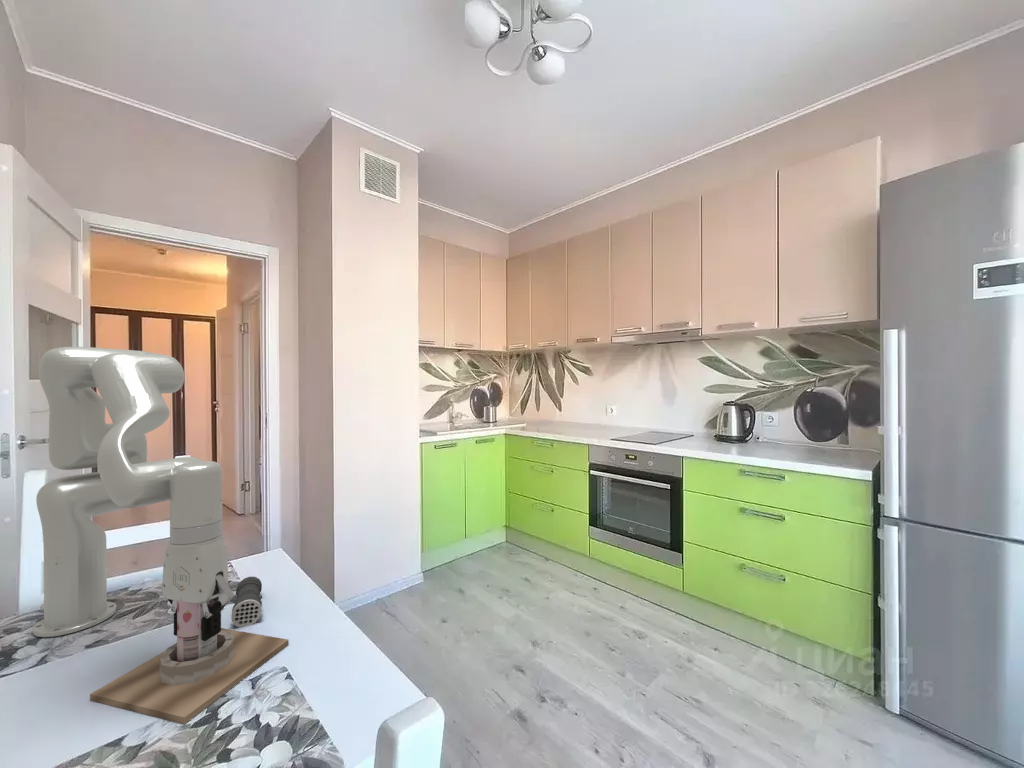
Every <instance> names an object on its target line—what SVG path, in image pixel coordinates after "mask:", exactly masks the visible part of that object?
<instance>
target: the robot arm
mask: <svg viewBox="0 0 1024 768" xmlns="http://www.w3.org/2000/svg"><path fill="white" fill-rule="evenodd" d="M38 376H39V381H40V384H41V385H40V386H41V388H42V390H43V392H44V394H45V398H46V399H47V400H46V401H47V404H48V409H49V414H48V457H49V458H48V459H49V463H50V464H51V466H53V467H54V468H55V469H57V470H62V471H72V470H73V471H74V470H76V471H77V470H82V469H83V470H84V469H92V468H97V472H95V471H94V472H86V473H81V474H74V475H68V476H63V477H59V478H56V479H54V480H53V479H52V480H51V481H49V482H47V483H45V484H44V485H42V486H41V488H39V490H38V491H37V493H36V508H37V511H38V515H39V520H40V523H41V529H42V531H41V532H42V540H43V542H42V544H43V547H42V548H43V603H41V604H40V606H39V609H40V610H41V611H43V619H41V620H40V621H38V622H37V623H35V624H34V626H33V628H32V634H33V635H34V636H35V637H39V638H53V637H60V636H64V635H70V634H73V633H76V632H80V631H83V630H86V629H88V628H91V627H93V626H95V625H98V624H100V623H102V622H104V621H105V620H107V619H109V618H111V617H112V616H113V615H114V614H115V613H116V611H117V604H116V603H115V602H112V601H108V597H107V595H108V594H107V593H108V592H107V591H108V590H107V589H108V586H107V585H108V581H107V580H108V578H107V575H108V574H107V572H108V571H107V567H108V566H107V563H108V561H107V559H108V558H107V556H108V554H107V551H108V550H107V535H106V532H105V530H104V529H103V527H101V526H100V525H98V524H97V523H95V522H94V521H93V520H92V518H93V517H95V516H99V515H103V514H107V513H114V512H117V511H122V510H126V509H127V510H128V509H135V508H140V507H146V506H149V505H150V506H151V505H154V504H158V503H164V502H168V501H169V541H168V542H167V545H166V549H165V552H164V559H163V567H162V579H161V580H162V583H161V584H162V585H161V590H162V591H161V593H162V596H163V597H164V598H165V599H167V600H168V602H169V603H170V604H171V606H170V611H171V612H172V613H173V636H176V637H177V601H180V596H181V598H182V600H183V601H184V602H188V603H194V604H201V605H202V609H203V612H204V616H205V617H203V618H201V639H202V641H206V640H208V639H210V638H211V637H213V636H215V635H216V634H218V633H220V631H221V628H222V612H223V610H224V609H225V607H226V606H227V604H228V603H229V602H230V601H231V600H232V599H233V598H234V596H235V594H234V592H233V591H232V589H231V587H230V585H229V567H228V565H229V564H228V555H227V550H226V544H225V540H224V539H225V538H224V537H223V468H222V466H221V464H220V463H219V462H216V461H213V460H202V459H200V458H198V457H194V456H184V457H176V458H169V459H160V460H154V461H153V460H152V461H148V443H147V441H148V440H147V437H146V434H148V433H150V432H152V431H155V430H157V428H160V427H161V426H162V425H164V424H165V423H166V422H167V420H168V419H169V417H170V413H171V412H170V409H169V407H168V405H167V403H166V401H165V399H164V397H163V395H162V394H173V393H176V392H178V391H180V389H182V387H183V385H184V383H185V371H184V368H183V366H182V364H181V363H180V362H179V361H178V360H177V359H176V358H175V357H173V356H171V355H168V354H161V353H156V352H151V351H146V350H145V351H144V350H134V349H118V348H117V349H116V348H105V347H90V346H89V347H88V346H63V347H55V348H51V349H49V350H47V351H46V352H45V353H44V354H43V356H41V358H40V361H39V365H38ZM93 388H97V390H98V392H99V394H98V393H97V392H96V391H95V390H94V389H93ZM106 411H107V412H108V415H109V418H110V419H111V421H112V423H106ZM180 585H182V586H184V587H182V588H181V587H180ZM184 588H185V589H184ZM180 589H181V590H182V589H184V590H182V591H181V590H180ZM213 592H214V594H213ZM212 594H213V595H212ZM212 599H214V602H215V603H214V604H213V605H212V606H210V603H209V601H210V600H212Z"/></svg>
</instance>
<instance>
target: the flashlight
mask: <svg viewBox="0 0 1024 768" xmlns="http://www.w3.org/2000/svg"><path fill="white" fill-rule="evenodd" d="M262 584H263V583H262V581H261V579H260V578H258V577H257V576H247V577H245V578H243V580H241V581H240V582H239V583H238V584H237V586H236V590H235V596H236V599H235V602H234V604H233V607H232V609H231V610H232V611H231V615H230V616H231V617H230V618H231V622H232V624H233V625H234V626H236V627H238V628H245V627H248V626H252V625H254V624H255V623H256V622H257V621H258V620H259V619H260V617H261V615H262V611H263V610H262V606H263V604H262V603H263V602H262V597H261V592H262V589H263V585H262Z"/></svg>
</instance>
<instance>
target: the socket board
mask: <svg viewBox="0 0 1024 768" xmlns="http://www.w3.org/2000/svg"><path fill="white" fill-rule="evenodd" d="M289 641H290V640H289V639H287V638H280V637H276V636H269V635H264V634H260V633H259V634H257V633H252V632H246V631H241V630H235V629H228V628H223V627H221V631H220V633H218V634H217V650H216V651H215V652H213V653H212V654H210V655H207V656H205V657H202V658H199V659H197V660H193V661H186V662H177V642H176V643H174V644H173V645H170V646H169V647H167V648H166V650H164V651H163V652H160V653H159V654H157V655H156V656H154V657H152V658H150V659H148V660H147V661H145V662H144V663H141V664H140V665H138V666H136V667H135V668H132V669H131V670H129V671H127V672H126V673H124V674H123V675H121V676H119V677H117V678H116V679H113V680H112V681H110V682H109V683H107V684H105V685H103V686H102V687H100V688H98V689H97V690H95V691H93V692H91V693H89V701H92V702H95V703H99V704H103V705H106V706H111V707H114V708H119V709H122V710H126V711H130V712H134V713H140V714H143V715H146V716H150V717H153V718H158V719H163V720H167V721H170V722H175V723H178V724H182V725H186V724H187V723H189V722H190V721H191V720H192V719H194V718H195V717H196V716H197V715H199V714H201V713H202V712H203V711H204V710H206V709H207V708H208V707H210V706H212V704H214V703H215V702H216V701H217V700H218V699H220V698H221V697H223V696H224V695H225V694H226V693H228V692H229V691H230V690H232V689H233V688H234V687H235V686H236V685H238V684H240V682H242V681H243V680H245V679H246V678H248V676H250V674H253V672H255V671H256V670H258V669H259V668H261V666H262V665H264V664H265V663H267V662H268V661H269V660H271V659H273V657H275V656H277V655H278V653H280V652H281V651H282V650H284V649H285V648H286V647H288V646H289V645H290V643H289Z"/></svg>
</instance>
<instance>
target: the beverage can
mask: <svg viewBox="0 0 1024 768" xmlns="http://www.w3.org/2000/svg"><path fill="white" fill-rule="evenodd" d="M180 587H181V588H182V587H184V586H182V585H180ZM184 589H185V588H184ZM184 589H182V590H184ZM180 590H181V589H180ZM182 590H181V591H182ZM213 594H214V592H213ZM213 594H212V595H213ZM209 603H210V606H212V605H213V604H214V603H215V602H214V599H212V600H210V601H209ZM203 617H205V616H204V612H203V609H202V605H201V604H194V603H188V602H184V601H183V600H182V598H181V596H180V601H177V636H176V638H177V639H176V643H177V662H186V661H193V660H197V659H199V658H202V657H205V656H207V655H210V654H212V653H213V652H215V651H216V650H217V634H216V635H215V636H213V637H211V638H210V639H208V640H206V641H202V639H201V618H203Z"/></svg>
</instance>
